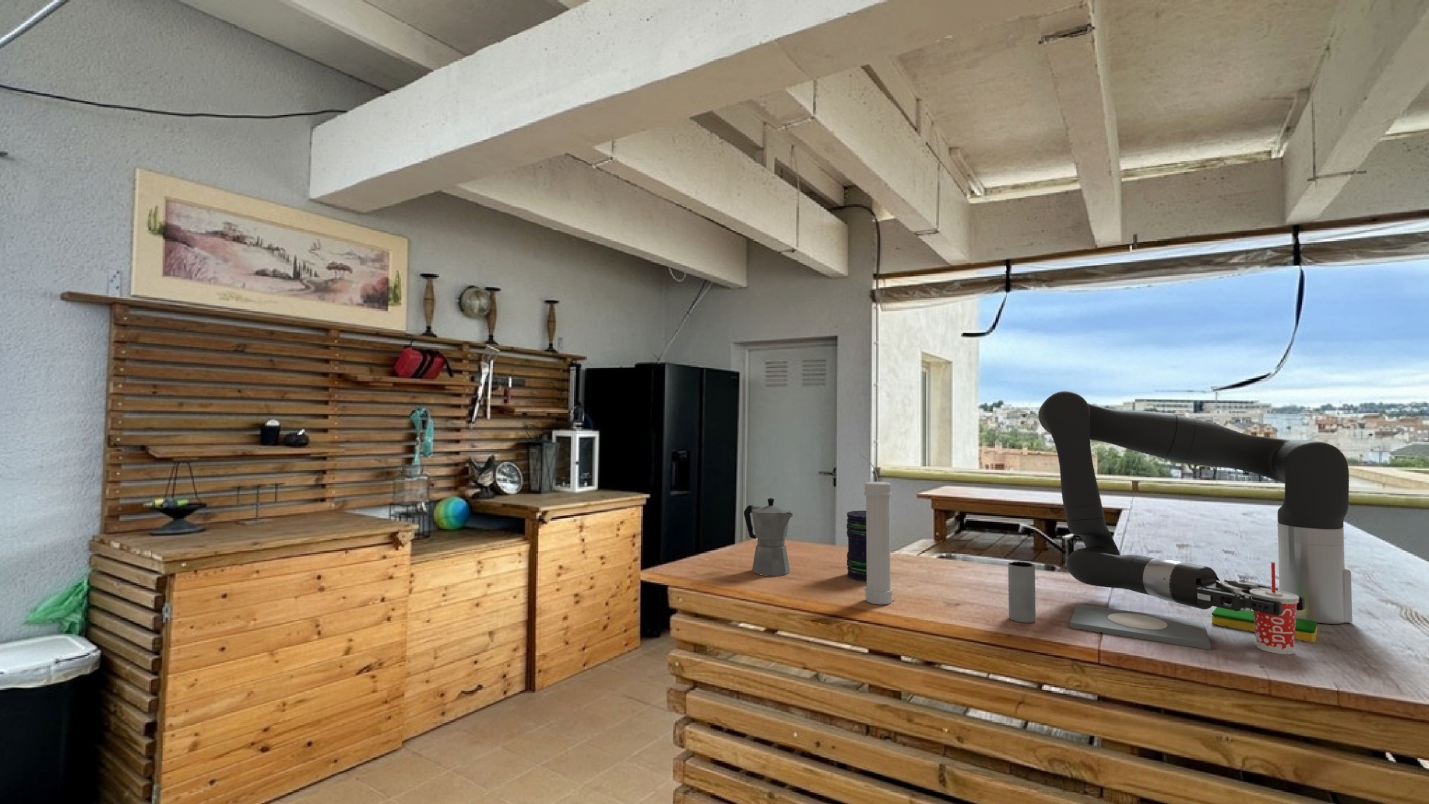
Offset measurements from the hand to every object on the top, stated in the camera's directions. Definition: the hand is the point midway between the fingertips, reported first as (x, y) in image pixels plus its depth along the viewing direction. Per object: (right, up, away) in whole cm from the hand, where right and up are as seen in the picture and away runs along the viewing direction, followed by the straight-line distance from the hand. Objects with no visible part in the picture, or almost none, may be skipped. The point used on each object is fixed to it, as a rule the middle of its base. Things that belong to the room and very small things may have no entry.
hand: (1291, 606), depth 103 cm
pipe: (-59, -9, +30) cm, 66 cm away
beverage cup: (-1, -8, +2) cm, 8 cm away
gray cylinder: (-35, -8, +18) cm, 40 cm away
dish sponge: (+6, -9, +13) cm, 17 cm away
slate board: (-16, -8, +13) cm, 22 cm away
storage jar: (-56, -9, +50) cm, 76 cm away
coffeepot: (-79, -9, +56) cm, 97 cm away
